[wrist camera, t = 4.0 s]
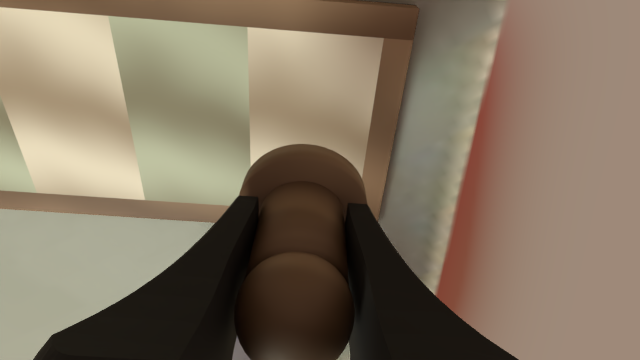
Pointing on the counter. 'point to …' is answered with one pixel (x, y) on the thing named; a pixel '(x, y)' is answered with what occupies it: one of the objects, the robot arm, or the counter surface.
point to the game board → (190, 98)
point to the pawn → (298, 256)
